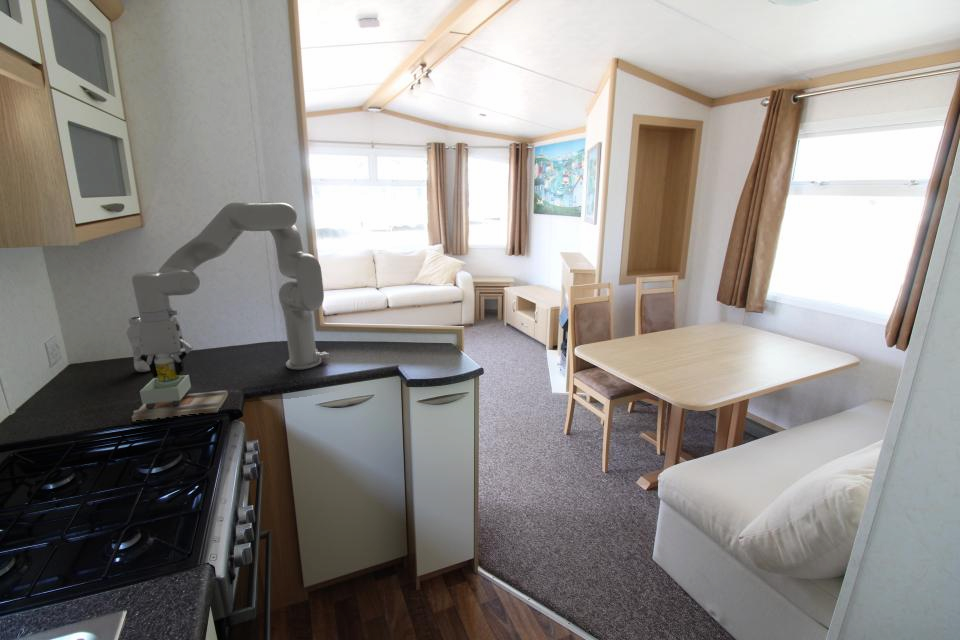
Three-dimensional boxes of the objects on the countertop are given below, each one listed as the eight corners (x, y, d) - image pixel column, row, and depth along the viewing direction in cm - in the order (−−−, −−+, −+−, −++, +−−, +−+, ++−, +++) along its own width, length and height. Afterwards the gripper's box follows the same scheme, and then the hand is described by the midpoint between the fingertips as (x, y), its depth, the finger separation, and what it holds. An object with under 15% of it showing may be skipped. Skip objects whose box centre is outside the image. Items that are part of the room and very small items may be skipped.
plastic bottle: (140, 375, 162) (128, 321, 156) (132, 371, 165) (119, 318, 160) (160, 369, 167) (149, 317, 161) (151, 365, 171) (140, 314, 165)
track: (228, 394, 147) (226, 388, 146) (217, 411, 136) (216, 405, 135) (150, 403, 141) (148, 396, 141) (132, 421, 130) (130, 414, 130)
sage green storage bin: (192, 392, 143) (188, 375, 141) (181, 406, 134) (177, 387, 132) (157, 396, 140) (153, 378, 139) (144, 410, 131) (139, 391, 130)
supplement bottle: (184, 378, 137) (178, 348, 134) (168, 385, 132) (161, 354, 129) (171, 376, 139) (165, 346, 136) (154, 383, 134) (147, 352, 131)
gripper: (194, 310, 135) (204, 367, 140) (127, 314, 131) (140, 372, 136) (185, 317, 128) (196, 376, 133) (114, 321, 124) (129, 382, 129)
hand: (168, 373), depth 135 cm, fingers closed on supplement bottle, 5 cm apart
